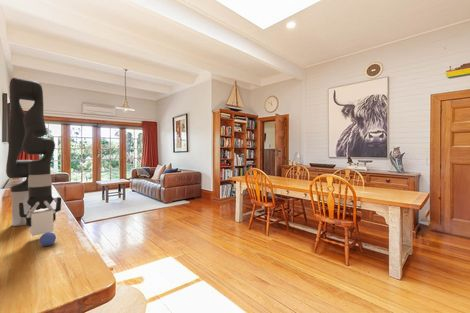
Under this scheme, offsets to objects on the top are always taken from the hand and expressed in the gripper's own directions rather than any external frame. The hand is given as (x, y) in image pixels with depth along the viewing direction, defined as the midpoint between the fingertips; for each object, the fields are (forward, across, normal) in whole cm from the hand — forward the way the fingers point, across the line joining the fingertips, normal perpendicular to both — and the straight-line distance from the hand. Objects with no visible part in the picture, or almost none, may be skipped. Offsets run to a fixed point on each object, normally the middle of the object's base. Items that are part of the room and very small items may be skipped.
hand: (41, 223), depth 97 cm
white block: (+3, 0, 0) cm, 3 cm away
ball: (+4, 0, +12) cm, 12 cm away
